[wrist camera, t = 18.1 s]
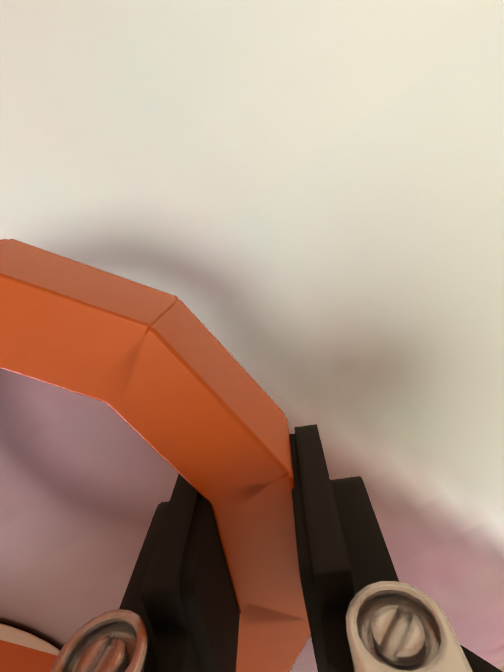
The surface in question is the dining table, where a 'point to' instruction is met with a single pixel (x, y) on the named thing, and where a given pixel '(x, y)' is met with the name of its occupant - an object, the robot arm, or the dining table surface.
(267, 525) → the orange ring
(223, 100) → the dining table surface
